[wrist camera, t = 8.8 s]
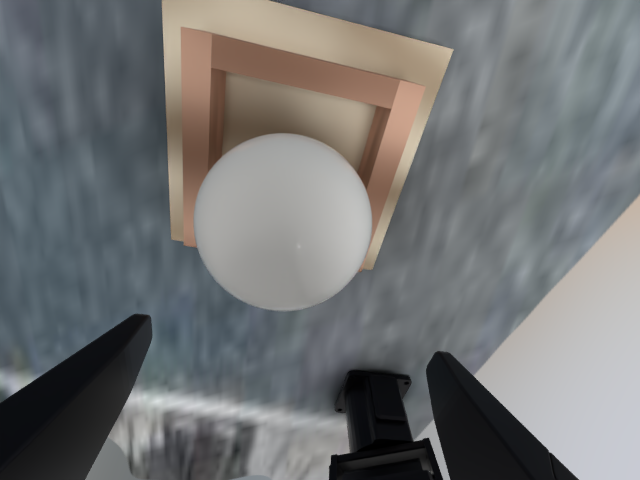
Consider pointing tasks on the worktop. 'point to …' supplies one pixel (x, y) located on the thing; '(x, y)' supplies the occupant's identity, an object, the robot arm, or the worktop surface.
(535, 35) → the worktop surface
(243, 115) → the holder
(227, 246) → the lightbulb
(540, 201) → the worktop surface
